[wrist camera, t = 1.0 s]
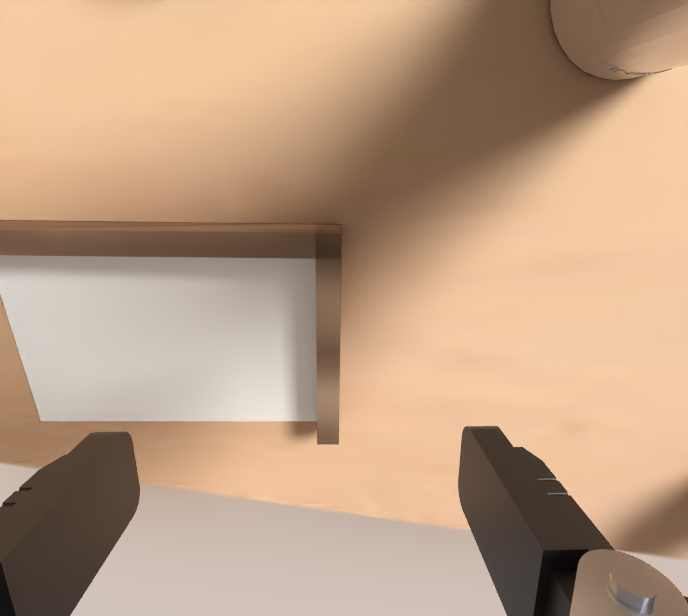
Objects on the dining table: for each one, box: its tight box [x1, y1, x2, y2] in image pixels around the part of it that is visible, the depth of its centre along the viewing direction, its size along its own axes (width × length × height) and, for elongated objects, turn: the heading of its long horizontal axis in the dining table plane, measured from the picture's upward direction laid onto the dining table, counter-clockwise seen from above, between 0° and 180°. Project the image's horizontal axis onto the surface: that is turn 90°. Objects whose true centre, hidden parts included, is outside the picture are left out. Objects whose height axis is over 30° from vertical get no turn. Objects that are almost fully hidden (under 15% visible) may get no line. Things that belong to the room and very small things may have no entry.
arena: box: [0, 220, 342, 444], centre depth 26 cm, size 15×22×3 cm, turn 89°
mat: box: [0, 255, 317, 421], centre depth 28 cm, size 14×21×1 cm, turn 89°
